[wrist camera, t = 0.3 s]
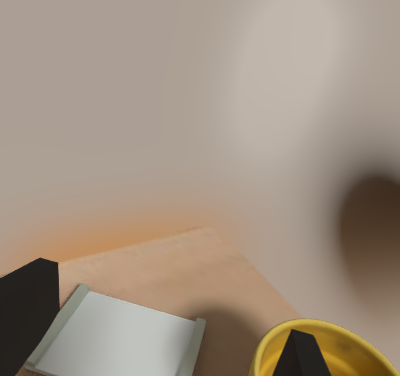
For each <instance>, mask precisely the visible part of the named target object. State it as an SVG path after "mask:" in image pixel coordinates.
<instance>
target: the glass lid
mask: <svg viewBox="0 0 400 376" xmlns="http://www.w3.org/2000/svg"><path fill="white" fill-rule="evenodd" d="M206 321H207V320H205V319H201V318H198V317H197V320H196V322H195V321H192V320H188V319H185V318H181V317H178V316H174V315H171V314H168V313H164V312H161V311H157V310H154V309H150V308H147V307H143V306H140V305H137V304H133V303H130V302H126V301H123V300H119V299H116V298H113V297H109V296H106V295H102V294H99V293H95V292H92V291H90V287H89V286H87V285H83V284H80V286H79V287H78V288H77V290H76V291H75V292H74V293H73V295H72V296H71V297H70V299H69V300H68V301H67V303H66V304H65V305H64V306H63V308H62V309H61V310H60V312H59V313H58V314H57V316H56V318H55V319H54V321H53V323H52V325H51V326H50V328H49V329H48V331H47V333H46V334H45V336H44V337H43V339H42V341H41V342H40V343H39V345H38V346H37V347H36V349H35V350H34V351H33V353H32V354H31V355H30V357H29V358H28V359H27V360H26V362H25V363H24V367H25V369H28V370H31V371H34V372H37V373H40V374H43V375H46V376H193V372H194V368H195V364H196V361H197V357H198V353H199V349H200V345H201V342H202V338H203V334H204V330H205V326H206Z"/></svg>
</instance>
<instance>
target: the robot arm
mask: <svg viewBox="0 0 400 376" xmlns="http://www.w3.org/2000/svg"><path fill="white" fill-rule="evenodd" d="M59 311H60V303H59V273H58V263H57V262H54V261H50V260H46V259H43V258H38V259H36V260H34V261H33V262H30V263H28V264H27V265H25V266H23V267H21V268H19V269H17V270H15V271H13V272H11V273H10V274H8V275H6V276H4V277H2V278H0V376H15V375H16V373H17V372H18V371H19V369H20V368H21V367H22V366H23V364H24V363H25V362H26V360H27V359H28V358H29V357H30V355H31V354H32V353H33V351H34V350H35V349H36V347H37V346H38V345H39V343H40V342H41V341H42V339H43V337H44V336H45V334H46V333H47V331H48V329H49V328H50V326H51V325H52V323H53V321H54V319H55V318H56V316H57V314H58V313H59ZM272 376H332V375H331V373H330V371H329V368H328V366H327V364H326V362H325V359H324V357H323V355H322V352H321V350H320V348H319V345H318V343H317V341H316V338H315V337H314V335H312V334H309V333H305V332H302V331H298V330H295V329H291V331H290V334H289V336H288V339H287V341H286V343H285V346H284V348H283V350H282V353H281V355H280V358H279V360H278V362H277V365H276V367H275V369H274V372H273V374H272Z"/></svg>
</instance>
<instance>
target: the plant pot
mask: <svg viewBox="0 0 400 376" xmlns="http://www.w3.org/2000/svg"><path fill="white" fill-rule="evenodd" d="M291 329H295V330H298V331H302V332H305V333H309V334H312V335H314V337H315V338H316V341H317V343H318V345H319V348H320V350H321V352H322V355H323V357H324V359H325V362H326V364H327V366H328V368H329V371H330V373H331V375H332V376H400V373H399V372H398V370H397V369H396V368H395V367H394V366H393V365H392V364H391V362H390V361H389V360H388V359H387V358H386V357H385V356H384V355H383V354H381V353H380V352H379V351H378V350H377V349H376V348H375V347H373V346H372V345H371V344H369V343H368V342H367V341H365V340H364V339H363V338H361V337H359V336H358V335H356V334H354V333H352V332H351V331H349V330H347V329H345V328H343V327H340V326H338V325H335V324H333V323H329V322H326V321H321V320H317V319H294V320H289V321H286V322H283V323H281V324H278V325H276V326H275V327H273V328H272V329H271V330H269V331H268V332H267V333H266V334H265V335H264V337H263V338H262V339H261V340H260V342H259V344H258V346H257V348H256V350H255V353H254V356H253V359H252V362H251V366H250V369H249V373H248V376H272V374H273V372H274V369H275V367H276V365H277V362H278V360H279V358H280V355H281V353H282V350H283V348H284V346H285V343H286V341H287V339H288V336H289V334H290V331H291Z"/></svg>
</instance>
